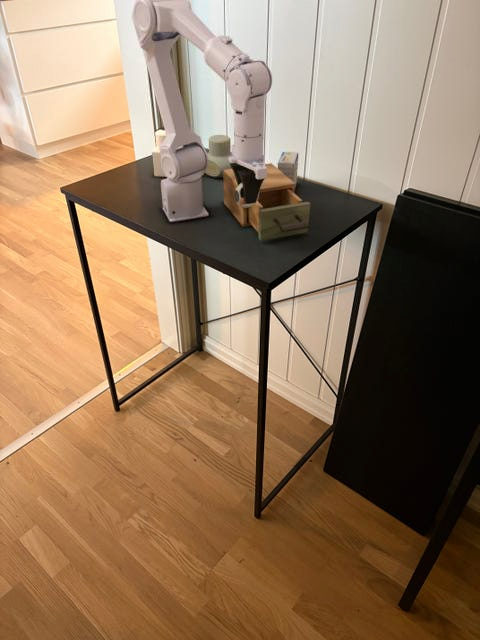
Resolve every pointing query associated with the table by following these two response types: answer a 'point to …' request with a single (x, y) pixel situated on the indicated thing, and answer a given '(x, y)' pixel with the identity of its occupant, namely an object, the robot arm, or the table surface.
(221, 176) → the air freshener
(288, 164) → the medicine box
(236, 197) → the wristwatch
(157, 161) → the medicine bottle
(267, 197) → the drawer
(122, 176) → the table surface
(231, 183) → the cabinet
